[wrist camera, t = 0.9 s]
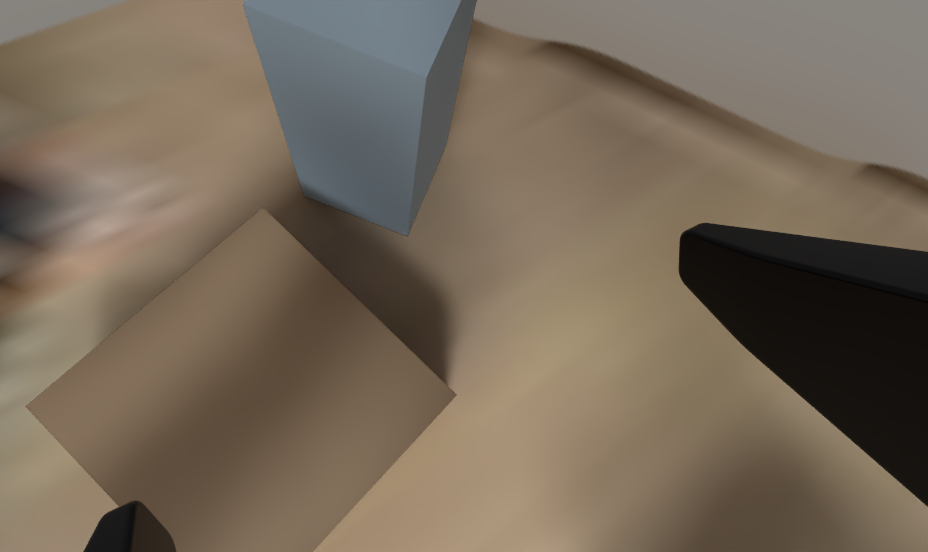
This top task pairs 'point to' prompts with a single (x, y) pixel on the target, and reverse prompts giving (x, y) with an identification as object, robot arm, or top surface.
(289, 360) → the base block
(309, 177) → the pillar
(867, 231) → the top surface
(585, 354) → the top surface
